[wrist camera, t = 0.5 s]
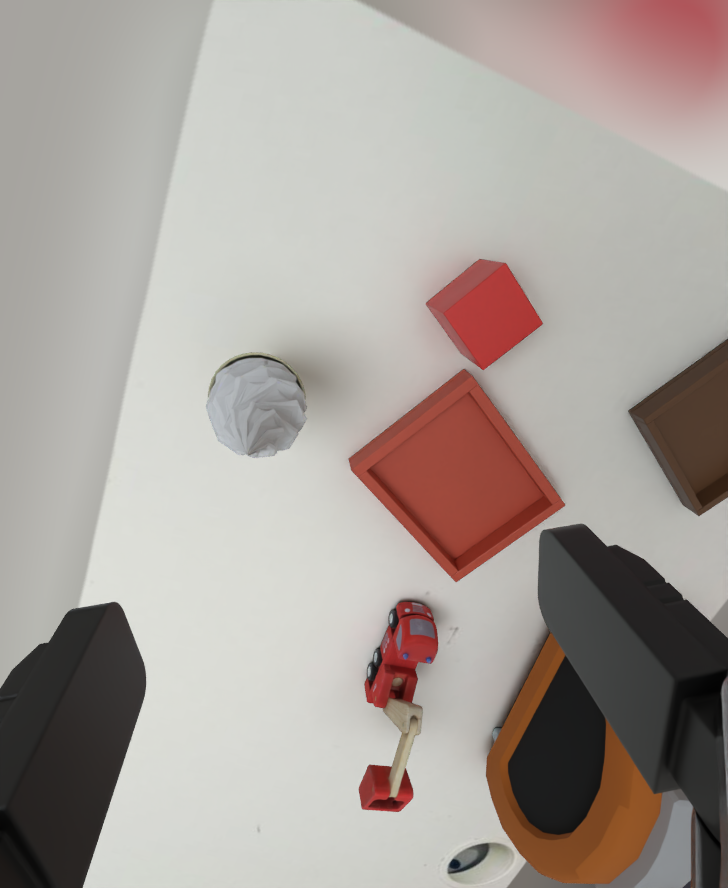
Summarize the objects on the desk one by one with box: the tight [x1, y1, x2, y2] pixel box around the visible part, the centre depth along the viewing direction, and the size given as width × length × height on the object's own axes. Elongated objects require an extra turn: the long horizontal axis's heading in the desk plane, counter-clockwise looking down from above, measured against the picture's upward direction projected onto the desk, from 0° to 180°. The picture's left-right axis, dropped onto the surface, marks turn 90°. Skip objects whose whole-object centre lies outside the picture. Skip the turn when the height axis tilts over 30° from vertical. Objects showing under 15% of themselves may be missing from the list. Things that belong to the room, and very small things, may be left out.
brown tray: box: [629, 339, 728, 516], centre depth 39 cm, size 11×11×2 cm
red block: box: [426, 259, 543, 370], centre depth 32 cm, size 4×4×4 cm
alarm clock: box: [486, 633, 693, 888], centre depth 42 cm, size 23×9×17 cm, turn 165°
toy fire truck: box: [359, 602, 438, 812], centre depth 41 cm, size 3×14×10 cm, turn 162°
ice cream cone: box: [206, 353, 307, 458], centre depth 27 cm, size 5×5×15 cm
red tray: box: [349, 369, 565, 582], centre depth 38 cm, size 14×11×2 cm
